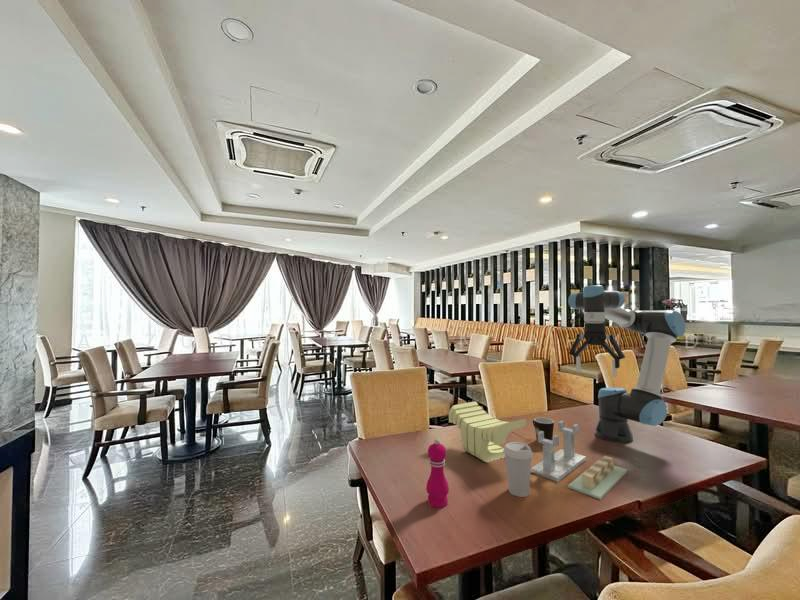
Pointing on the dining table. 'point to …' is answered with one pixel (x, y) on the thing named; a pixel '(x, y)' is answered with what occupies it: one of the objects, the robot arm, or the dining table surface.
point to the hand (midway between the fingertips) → (596, 374)
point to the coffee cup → (518, 468)
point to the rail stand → (558, 455)
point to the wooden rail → (597, 472)
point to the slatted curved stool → (481, 430)
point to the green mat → (601, 487)
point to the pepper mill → (437, 476)
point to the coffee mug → (544, 427)
